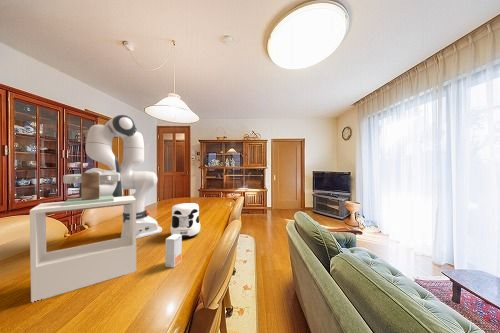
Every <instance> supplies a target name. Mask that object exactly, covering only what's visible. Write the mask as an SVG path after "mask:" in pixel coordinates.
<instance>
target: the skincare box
mask: <svg viewBox="0 0 500 333" xmlns="http://www.w3.org/2000/svg"><path fill="white" fill-rule="evenodd" d="M182 241H183V238H182V235H180V234H173V235H170V236H168V237H166V238H165V258H164V259H165V262H164V263H165V264H164V265H165V268H176V266H177V265H178V264H180V262H182V260H183V259H182V256H183V255H182V249H183V247H182V246H183V245H182V244H183V242H182Z"/></svg>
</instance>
